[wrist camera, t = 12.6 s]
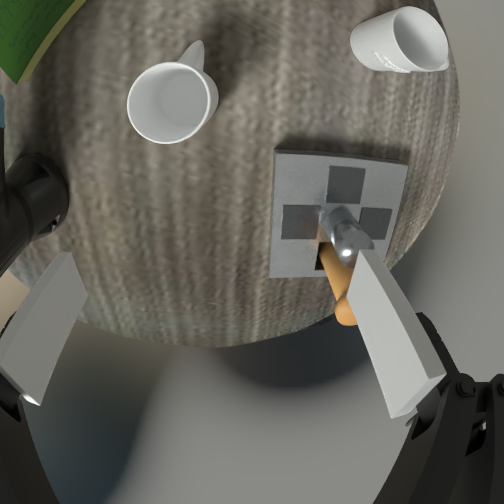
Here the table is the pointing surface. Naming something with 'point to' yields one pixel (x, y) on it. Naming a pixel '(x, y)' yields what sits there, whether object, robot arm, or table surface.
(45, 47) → the hardcover book
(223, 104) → the table surface
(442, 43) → the mug
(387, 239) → the checkered knob plate
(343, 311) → the tan wooden pestle
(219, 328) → the table surface
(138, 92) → the mug
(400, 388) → the robot arm
